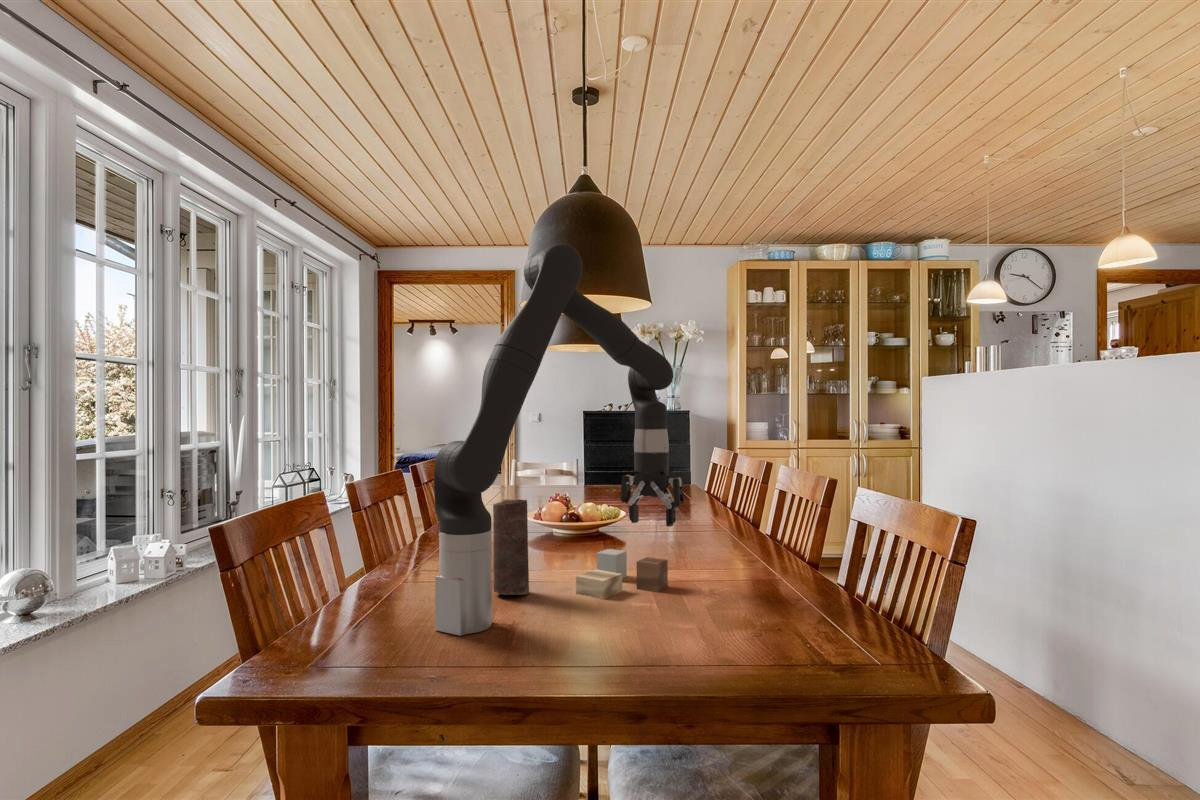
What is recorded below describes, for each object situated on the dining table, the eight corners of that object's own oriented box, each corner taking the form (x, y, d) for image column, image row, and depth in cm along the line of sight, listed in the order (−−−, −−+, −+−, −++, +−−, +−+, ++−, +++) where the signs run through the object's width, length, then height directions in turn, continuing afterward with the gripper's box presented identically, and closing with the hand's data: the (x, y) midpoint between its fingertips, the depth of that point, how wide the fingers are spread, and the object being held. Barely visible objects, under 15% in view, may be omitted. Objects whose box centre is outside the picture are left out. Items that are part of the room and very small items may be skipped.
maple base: (603, 600, 136) (603, 580, 136) (576, 594, 140) (576, 575, 140) (622, 592, 142) (622, 573, 142) (595, 587, 146) (595, 569, 146)
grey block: (615, 581, 150) (615, 555, 150) (597, 579, 152) (596, 552, 152) (626, 577, 154) (626, 551, 154) (608, 574, 157) (608, 548, 157)
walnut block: (657, 592, 141) (657, 564, 141) (636, 589, 143) (636, 561, 144) (667, 587, 145) (667, 559, 145) (647, 584, 148) (647, 557, 148)
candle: (510, 602, 134) (510, 503, 134) (485, 596, 139) (485, 500, 139) (536, 593, 140) (535, 498, 140) (511, 588, 145) (511, 496, 145)
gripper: (614, 450, 145) (615, 524, 145) (673, 451, 138) (674, 530, 138) (631, 447, 152) (631, 519, 151) (688, 449, 144) (689, 524, 144)
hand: (652, 524), depth 145 cm, fingers open, 8 cm apart
